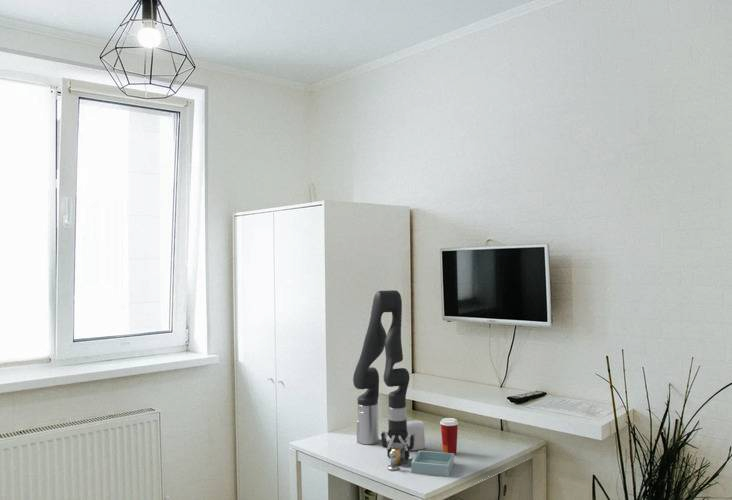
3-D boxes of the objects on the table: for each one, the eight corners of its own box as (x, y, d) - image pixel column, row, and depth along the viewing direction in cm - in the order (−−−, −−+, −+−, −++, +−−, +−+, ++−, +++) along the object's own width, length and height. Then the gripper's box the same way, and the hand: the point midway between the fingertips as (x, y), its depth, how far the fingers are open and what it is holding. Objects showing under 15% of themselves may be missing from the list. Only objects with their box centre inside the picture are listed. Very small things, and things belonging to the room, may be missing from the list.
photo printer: (404, 452, 247) (403, 423, 247) (400, 449, 251) (399, 420, 251) (426, 449, 250) (425, 420, 250) (422, 446, 254) (421, 418, 254)
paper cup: (461, 451, 247) (460, 418, 247) (456, 457, 240) (455, 423, 240) (443, 449, 250) (442, 416, 250) (438, 454, 243) (437, 421, 243)
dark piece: (390, 465, 232) (390, 450, 232) (396, 456, 241) (396, 442, 242) (400, 466, 231) (399, 451, 231) (406, 457, 240) (405, 443, 240)
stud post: (386, 470, 227) (385, 452, 227) (389, 466, 231) (388, 448, 231) (396, 471, 225) (396, 453, 225) (399, 467, 230) (399, 449, 230)
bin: (411, 472, 224) (411, 462, 224) (419, 460, 237) (419, 450, 237) (448, 476, 219) (448, 465, 219) (454, 463, 233) (454, 453, 233)
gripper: (416, 416, 238) (417, 457, 237) (383, 414, 242) (384, 454, 242) (412, 421, 230) (413, 463, 230) (378, 419, 235) (378, 460, 235)
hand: (398, 458), depth 236 cm, fingers open, 6 cm apart
